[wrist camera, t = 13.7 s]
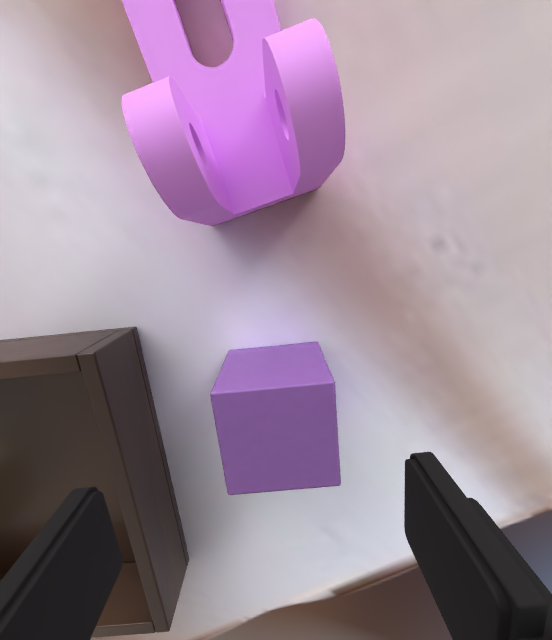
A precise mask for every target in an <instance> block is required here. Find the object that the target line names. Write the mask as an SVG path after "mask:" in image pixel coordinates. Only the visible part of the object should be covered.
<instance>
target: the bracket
mask: <svg viewBox="0 0 552 640" xmlns="http://www.w3.org/2000/svg"><path fill="white" fill-rule="evenodd" d="M122 2H123V5H124V7H125V10H126V13H127V15H128V18H129V21H130V23H131V26H132V29H133V31H134V34H135V37H136V39H137V42H138V45H139V47H140V50H141V53H142V55H143V58H144V61H145V63H146V66H147V69H148V71H149V74H150V77H151V79H152V82H153V83H151V84H149V85H147V86H144V87H142V88H139V89H137V90H134V91H132V92H129V93H127V94H124V95H123V97H122V109H123V114H124V118H125V122H126V125H127V128H128V131H129V134H130V137H131V139H132V142H133V144H134V147H135V149H136V151H137V154H138V156H139V158H140V160H141V162H142V165H143V167H144V169H145V170H146V172H147V174H148V176H149V178H150V180H151V182H152V183H153V185H154V187H155V188H156V190H157V192H158V193H159V195H160V196H161V198H162V199H163V201H164V202H165V204H166V205H167V206H168V207H169V209H170V210H171V211H172V212H173V213H174V214H175V215H176V216H177V217H178V218H180V219H183V220H187V221H192V222H196V223H200V224H205V225H209V226H215V225H217V224H220V223H223V222H226V221H229V220H231V219H234V218H237V217H240V216H242V215H245V214H248V213H251V212H254V211H256V210H259V209H262V208H265V207H268V206H270V205H273V204H276V203H279V202H282V201H284V200H287V199H290V198H293V197H296V196H298V195H301V194H304V193H307V192H310V191H312V190H315V189H318V188H320V186H321V185H322V184H323V183H324V181H325V180H326V179H327V178H328V177H329V175H330V174H331V173H332V172H333V170H334V169H335V168H336V167H337V166H338V164H339V163H340V162H341V160H342V158H343V155H344V149H345V119H344V108H343V100H342V94H341V87H340V82H339V77H338V72H337V68H336V64H335V60H334V56H333V53H332V50H331V46H330V43H329V41H328V38H327V36H326V33H325V31H324V29H323V27H322V25H321V24H320V22H319V21H318V20H317V19H315V18H312V19H310V20H307V21H305V22H302V23H300V24H297V25H295V26H292V27H290V28H287V29H285V30H281V27H280V23H279V19H278V16H277V12H276V9H275V5H274V1H273V0H221V3H222V6H223V10H224V13H225V16H226V19H227V23H228V26H229V29H230V32H231V36H232V39H233V42H234V44H233V49H232V52H231V55H230V56H229V58H228V59H227V60H226V61H225V62H224V63H223V64H221V65H220V66H217V67H206V66H204V65H202V64H200V63H198V62H197V61H196V60H195V59H194V56H193V53H192V50H191V47H190V44H189V41H188V38H187V35H186V32H185V30H184V27H183V24H182V21H181V18H180V15H179V12H178V9H177V6H176V3H175V0H122Z"/></svg>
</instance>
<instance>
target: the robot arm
mask: <svg viewBox="0 0 552 640" xmlns="http://www.w3.org/2000/svg"><path fill="white" fill-rule="evenodd" d="M404 527H405V534H406V537H407V540H408V543H409V545H410V547H411V549H412V552H413V554H414V556H415V558H416V560H417V562H418V565H419V567H420V569H421V571H422V573H423V575H424V578H425V580H426V582H427V584H428V586H429V588H430V591H431V593H432V595H433V597H434V599H435V602H436V604H437V606H438V608H439V610H440V612H441V615H442V617H443V619H444V621H445V623H446V625H447V628H448V630H449V632H450V634H451V636H452V638H453V640H552V594H551V593H550V591H549V590H548V589H547V588H546V586H545V585H544V584H543V583H542V581H541V580H540V579H539V578H538V576H537V575H536V574H535V573H534V571H533V570H532V569H531V568H530V567H529V565H528V564H527V563H526V561H525V560H524V559H523V558H522V556H521V555H520V554H519V553H518V552H517V550H516V549H515V547H514V546H513V545H512V544H511V542H510V541H509V540H508V539H507V537H506V536H505V535H504V534H503V532H502V531H501V530H500V529H499V527H498V526H497V525H496V524H495V522H494V521H493V520H492V519H491V517H490V516H489V515H488V514H487V512H486V511H485V510H484V509H483V507H482V506H481V505H480V504H479V503H478V502H477V501H476V500H474V499H473V498H467V497H466V496H465V495H464V493H463V492H462V491H461V489H460V488H459V487H458V485H457V484H456V483H455V482H454V480H453V479H452V478H451V476H450V475H449V474H448V472H447V471H446V470H445V468H444V467H443V466H442V465H441V463H440V462H439V461H438V459H437V458H436V457H435V455H434V454H433V453H431V452H423V453H413V454H411V456H410V459H407V460H406V461H405V524H404ZM122 562H123V558H122V553H121V550H120V547H119V544H118V540H117V537H116V534H115V531H114V527H113V524H112V521H111V518H110V514H109V511H108V508H107V505H106V501H105V498H104V495H103V493H102V492H101V491H98V489H97V488H96V487H84V488H75V489H73V490H72V491H71V492H70V493H69V495H68V496H67V497H66V498H65V500H64V501H63V502H62V503H61V505H60V506H59V507H58V509H57V510H56V511H55V512H54V514H53V515H52V516H51V517H50V519H49V520H48V521H47V523H46V524H45V525H44V526H43V528H42V529H41V530H40V532H39V533H38V534H37V535H36V537H35V538H34V539H33V540H32V542H31V543H30V544H29V546H28V547H27V548H26V549H25V551H24V552H23V553H22V555H21V556H20V557H19V558H18V560H17V561H16V562H15V563H14V565H13V566H12V567H11V569H10V570H9V571H8V572H7V574H6V575H5V576H4V577H3V579H2V580H1V581H0V640H90V638H91V636H92V634H93V632H94V629H95V627H96V625H97V623H98V620H99V618H100V616H101V614H102V611H103V609H104V607H105V605H106V602H107V600H108V598H109V596H110V594H111V591H112V589H113V587H114V585H115V582H116V580H117V578H118V576H119V573H120V571H121V568H122Z"/></svg>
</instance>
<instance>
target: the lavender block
mask: <svg viewBox="0 0 552 640" xmlns="http://www.w3.org/2000/svg"><path fill="white" fill-rule="evenodd" d="M210 396H211V401H212V407H213V413H214V419H215V424H216V430H217V436H218V441H219V447H220V453H221V459H222V464H223V470H224V476H225V481H226V487H227V493H228V495H236V494H247V493H259V492H271V491H283V490H294V489H306V488H318V487H329V486H339V485H340V484H341V478H340V461H339V444H338V428H337V411H336V394H335V382H334V380H333V377H332V375H331V372H330V370H329V368H328V365H327V363H326V360H325V358H324V355H323V353H322V351H321V348H320V346H319V343H318V342H310V343H299V344H289V345H279V346H269V347H259V348H248V349H238V350H230V351H229V352H228V354H227V356H226V359H225V361H224V363H223V366H222V368H221V370H220V373H219V375H218V377H217V380H216V382H215V384H214V387H213V389H212V391H211V394H210Z"/></svg>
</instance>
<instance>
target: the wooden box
mask: <svg viewBox="0 0 552 640" xmlns="http://www.w3.org/2000/svg"><path fill="white" fill-rule="evenodd" d="M84 487H96V488H97V489H98V491H101V492H102V493H103V495H104V498H105V501H106V505H107V508H108V511H109V514H110V518H111V521H112V524H113V527H114V531H115V534H116V537H117V540H118V544H119V547H120V550H121V553H122V558H123V562H122V568H121V571H120V573H119V576H118V578H117V580H116V582H115V585H114V587H113V589H112V591H111V594H110V596H109V598H108V600H107V602H106V605H105V607H104V609H103V611H102V614H101V616H100V618H99V620H98V623H97V625H96V627H95V629H94V632H93V634H92V636H91V637H105V636H118V635H132V634H146V633H155V632H168V631H169V630H170V627H171V623H172V620H173V616H174V612H175V609H176V605H177V601H178V598H179V594H180V590H181V587H182V583H183V579H184V576H185V572H186V569H187V565H188V562H189V557H188V552H187V548H186V543H185V539H184V535H183V530H182V526H181V521H180V517H179V513H178V508H177V504H176V499H175V495H174V491H173V486H172V482H171V477H170V473H169V469H168V464H167V460H166V455H165V451H164V447H163V442H162V438H161V433H160V429H159V425H158V420H157V416H156V411H155V407H154V403H153V398H152V394H151V389H150V385H149V381H148V376H147V372H146V367H145V363H144V359H143V354H142V350H141V345H140V341H139V337H138V332H137V328H136V327H128V328H119V329H109V330H99V331H89V332H79V333H69V334H59V335H49V336H39V337H29V338H19V339H9V340H0V581H1V580H2V579H3V577H4V576H5V575H6V574H7V572H8V571H9V570H10V569H11V567H12V566H13V565H14V563H15V562H16V561H17V560H18V558H19V557H20V556H21V555H22V553H23V552H24V551H25V549H26V548H27V547H28V546H29V544H30V543H31V542H32V540H33V539H34V538H35V537H36V535H37V534H38V533H39V532H40V530H41V529H42V528H43V526H44V525H45V524H46V523H47V521H48V520H49V519H50V517H51V516H52V515H53V514H54V512H55V511H56V510H57V509H58V507H59V506H60V505H61V503H62V502H63V501H64V500H65V498H66V497H67V496H68V495H69V493H70V492H71V491H72V490H73V489H75V488H84Z"/></svg>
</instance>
